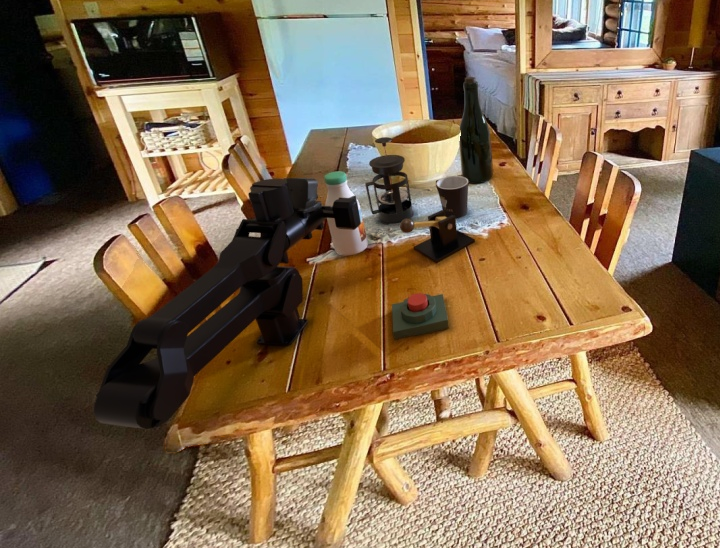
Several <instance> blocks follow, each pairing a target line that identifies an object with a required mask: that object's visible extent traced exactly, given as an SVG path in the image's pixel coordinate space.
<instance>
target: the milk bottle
mask: <svg viewBox="0 0 720 548" xmlns="http://www.w3.org/2000/svg"><path fill="white" fill-rule="evenodd" d="M323 179H324V182H325V186H326V188H327V195H326V199H325V203H324V206H333V203H334V201H335V200H337V199H339V198H350V197H352V196H356V195H355V194H354V193H353V191H352V190H351V189H350V188H349V185H348V177H347V173H345V171H339V170H338V171H337V170H336V171H331V172H329V173H326V174H325V175H324V178H323ZM356 199H357V200H356V201H357V203H358V209H359V215H360V221H361V224H360V225H359V226H358V227H357V228H356V229H355V230H348V229H339V228H337V227H336V224H335V219H334V218H326V220H327V221H326V222H327V225H328V229H329V232H330V237H331V241H332V244H333V248H334V251H335V253H336V254H338V255H339V256H354V255H356V254H359V253H362V252H363V251H365V250H366V249H367V247H368V245H369V242H368V241H369V240H368V236H367V231H366V227H365V221H364V218H363V217H364V216H363V214H362V209H361V206H360V205H361V204H360V202H359V200H358V198H357V197H356Z"/></svg>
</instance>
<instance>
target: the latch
mask: <svg viewBox="0 0 720 548" xmlns="http://www.w3.org/2000/svg"><path fill="white" fill-rule="evenodd" d="M445 218H447V217H445V216H444V217H436V218H435V221H428V220H425V221H413V220H412V218H411V219H404V220H402V221H401V223H399V229H400V231H401V232H402V233H405V234H409V233H412V232H413V230H414V229H418V228H429V227H430V226H435V227H436V228H438V229H439V225H438V222H439V221H441V220H443V219H445Z"/></svg>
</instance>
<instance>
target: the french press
mask: <svg viewBox="0 0 720 548" xmlns="http://www.w3.org/2000/svg"><path fill="white" fill-rule="evenodd" d="M391 141H393V139H392V137H388V136H383V137H378V138H376V139H375V140H374V142H375V143H376V144H381V145H382V147H383V149H384V150H383V151H384V155H381V156H377V157H374V158H372V159H371V160H369V162H368V165H369V166H370V167H371V171H372V172H373V173H374V174H376V175H375V176H374V177H373V178H372V181H368V182H365V190H366V194H367V200H368V205H369V209H370V212H371V214H372V215H377V214H378V221H379V222H380V223H381V224H384V225H387V226H388V225H397V224H400V223H401V221H402V220H404V219H411V220H412V218H413V216H414V215H415V211H414V210H413V204H412V197H411V191H410V185H409V178H408V174H407V173H406V172H404V171H402V170H403V168H404V163H405V161H406V159H405V157H404V156H402V155H398V154H387V148H386V147H387V143H390V142H391ZM393 176H394V177H395V176H396V177H402V178H404V179H403V180H401V181H398V182H395V183H393V182H392V177H393ZM381 179H382V181H383V184H381V183H377V181H379V180H381ZM371 186H373V190H374V195H375V200H376V205H377V209H375V210H374V209H373V208H374V207H373V204H372V203H373V202H372V199H371V194H370V188H369V187H371ZM403 186H406V190H405V189H400V188H401V187H403ZM377 189H379V190H385V191H384V192H382V193H380V194H379V195H378V192H377ZM394 211H395V213H391V212H394Z"/></svg>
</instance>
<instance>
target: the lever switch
mask: <svg viewBox="0 0 720 548" xmlns="http://www.w3.org/2000/svg"><path fill="white" fill-rule="evenodd" d="M444 216H445V211H444V210H443V209H441V210H439V211H436V212H434V213H432V214H430V215H428V216H427V221H435V218H436V217H444ZM456 220H457V219H455V216H454V215H451V216H449V217H447V218H445V219H443V220H441V221H439V222H438V225H439V229H438V228H436V227H435V226H430V227H428V228H429V238H428V239H426V240H424V241H422V242H420V243H418V244H416V245H415V246H413V250H414V251H415V252H417V253H419V254H421V255H422V256H424V257H426V258H427V259H429V260H431V261H432V262H434V263H436V264H439V263H441V262H442V261H444V260H446V259H448V258H449V257H451V256H453V255H455V254H456V253H458V252H460V251H462V250H463V249H465V248H467V247H470V246H471V245H473V244H474V243H476V239H475V238H473V237H471V236H469V235H467V234H465V233H463V232H461V231H460V230H458V229H457V221H456Z"/></svg>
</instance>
